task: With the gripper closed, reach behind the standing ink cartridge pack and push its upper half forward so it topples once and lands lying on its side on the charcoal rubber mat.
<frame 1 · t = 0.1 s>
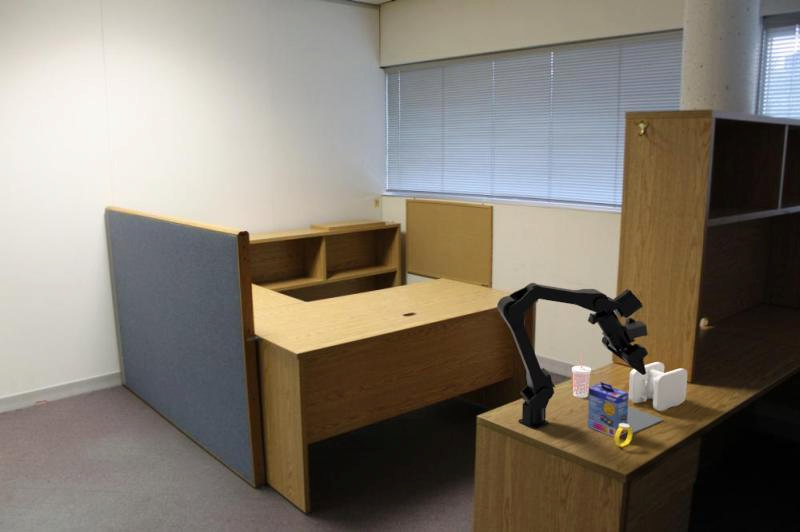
hand: (637, 368, 197), 15 cm above the table, tool tilted 35°, fingers open, 9 cm apart
ink cartridge box: (606, 430, 191), on the table
cable organizer: (656, 404, 209), on the table
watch: (623, 446, 181), on the table
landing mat: (630, 420, 197), on the table
beverage cup: (580, 395, 217), on the table
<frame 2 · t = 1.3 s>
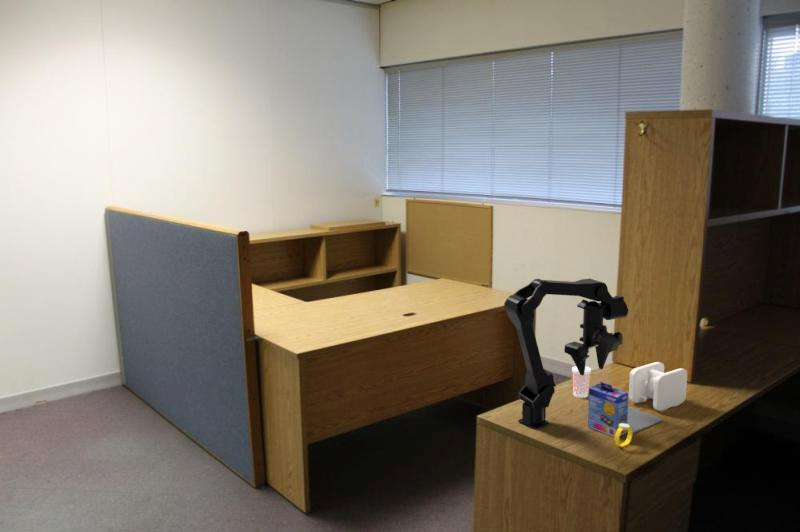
hand: (591, 371, 201), 13 cm above the table, tool pointing down, fingers open, 8 cm apart
nothing on the table moved.
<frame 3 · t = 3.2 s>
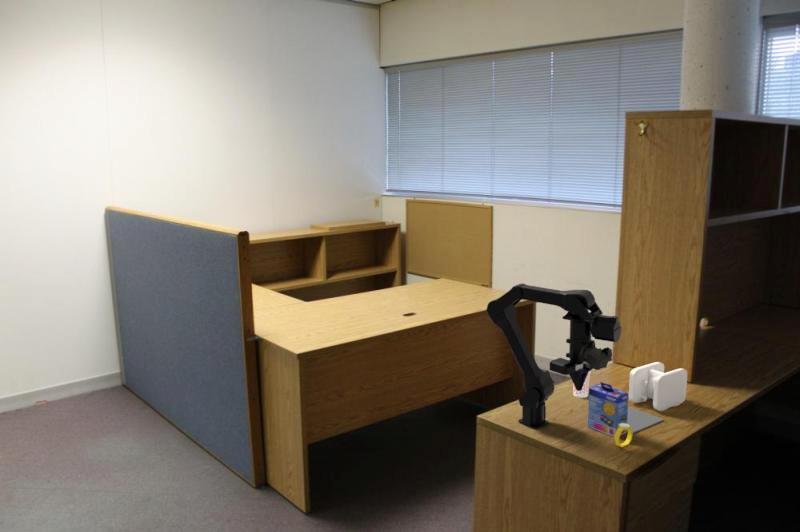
hand: (578, 390, 186), 13 cm above the table, tool pointing down, fingers closed
nothing on the table moved.
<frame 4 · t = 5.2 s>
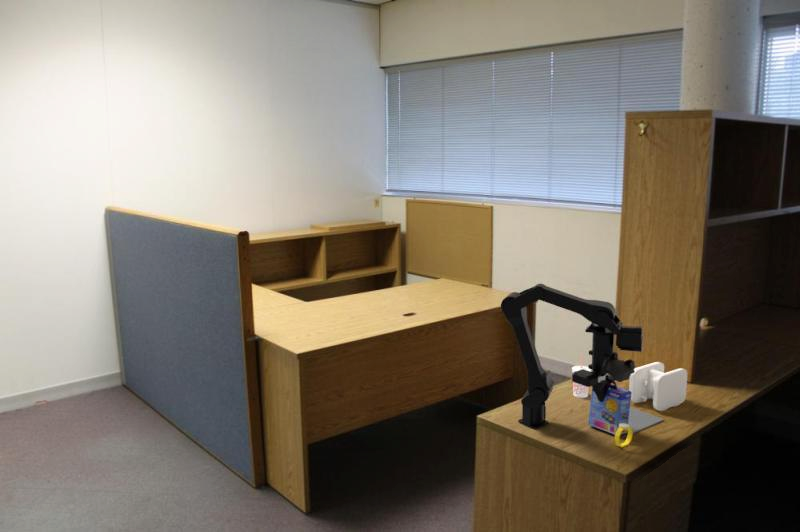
hand: (601, 401, 187), 9 cm above the table, tool pointing down, fingers closed
ink cartridge box: (606, 429, 191), on the table, touching gripper
everything else where it was.
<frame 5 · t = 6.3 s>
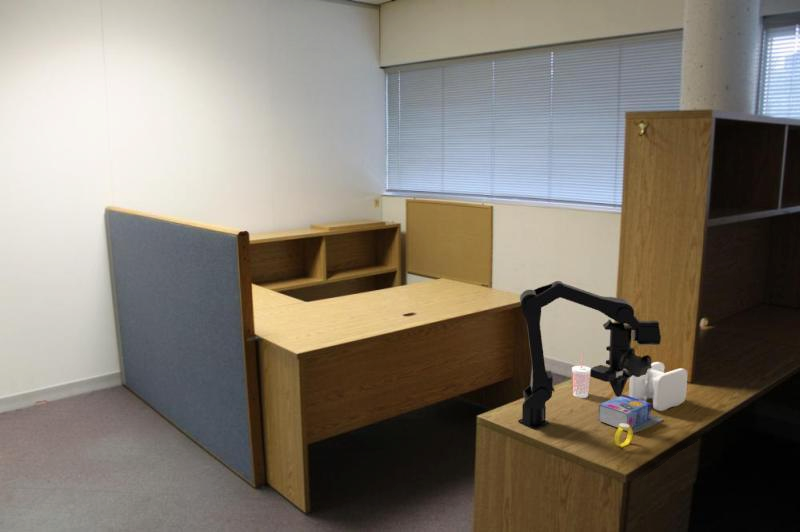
hand: (618, 396, 192), 9 cm above the table, tool pointing down, fingers closed
ink cartridge box: (612, 417, 192), point 3 cm above the table, touching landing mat
everything else where it was.
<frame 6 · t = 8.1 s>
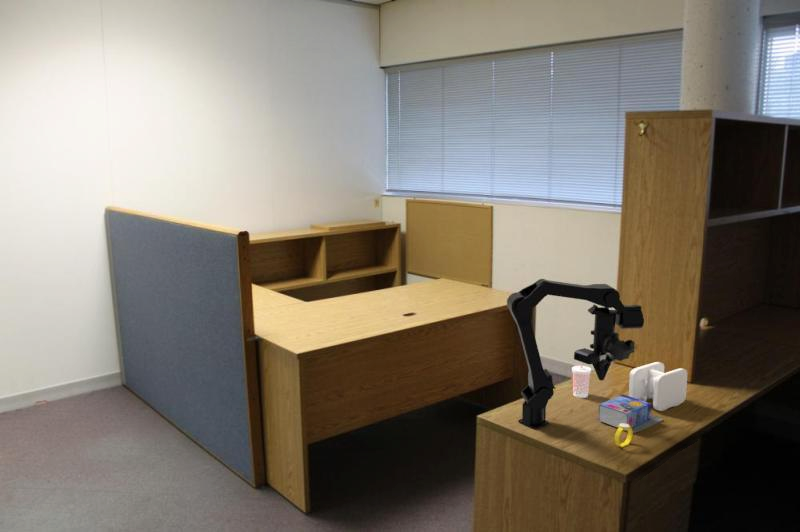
hand: (601, 380, 195), 13 cm above the table, tool pointing down, fingers closed
nothing on the table moved.
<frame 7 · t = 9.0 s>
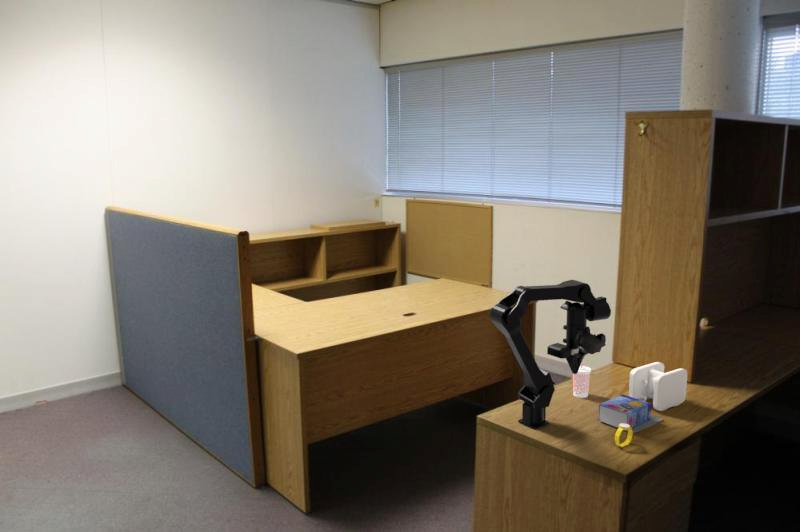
hand: (574, 373, 200), 13 cm above the table, tool pointing down, fingers closed
nothing on the table moved.
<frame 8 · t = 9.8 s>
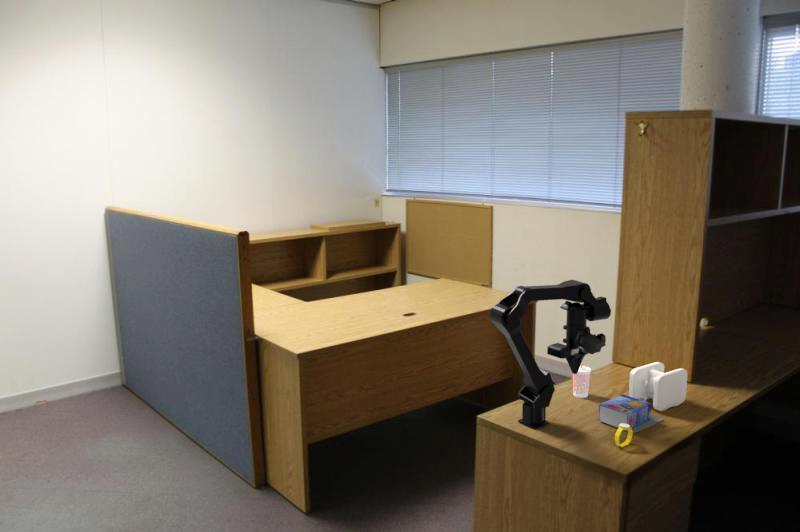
hand: (574, 373, 200), 13 cm above the table, tool pointing down, fingers closed
nothing on the table moved.
at the end: ink cartridge box tilted 92°; ink cartridge box inside the target area (3.0 cm from its centre), point 3.2 cm above the table; the gripper is holding nothing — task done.
